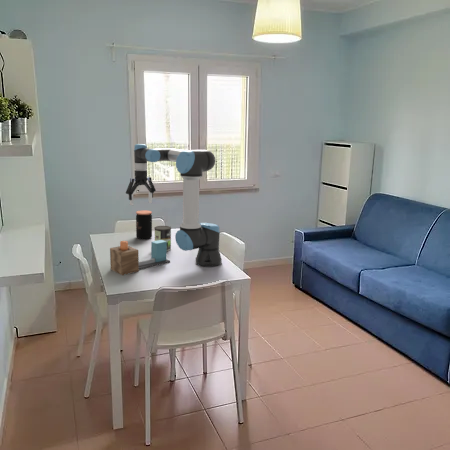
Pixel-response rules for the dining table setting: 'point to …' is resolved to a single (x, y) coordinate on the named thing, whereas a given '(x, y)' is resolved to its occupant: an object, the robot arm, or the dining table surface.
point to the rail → (151, 263)
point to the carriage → (159, 250)
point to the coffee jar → (143, 224)
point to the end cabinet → (124, 260)
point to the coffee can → (163, 235)
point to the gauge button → (123, 245)
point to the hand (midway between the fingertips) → (141, 204)
